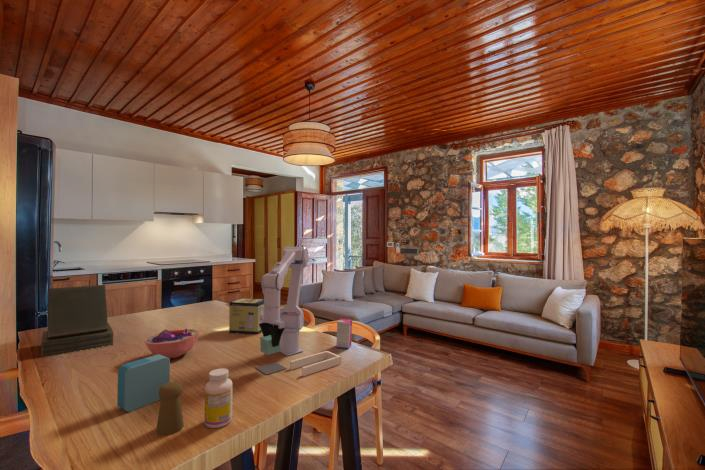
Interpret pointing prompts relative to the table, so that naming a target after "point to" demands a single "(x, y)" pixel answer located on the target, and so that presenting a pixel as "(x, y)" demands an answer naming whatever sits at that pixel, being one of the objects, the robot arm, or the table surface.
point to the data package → (142, 381)
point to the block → (268, 345)
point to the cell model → (172, 342)
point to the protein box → (245, 316)
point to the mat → (270, 368)
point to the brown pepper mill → (170, 409)
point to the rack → (330, 362)
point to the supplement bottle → (218, 399)
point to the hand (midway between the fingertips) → (271, 344)
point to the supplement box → (344, 333)
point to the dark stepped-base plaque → (76, 320)
